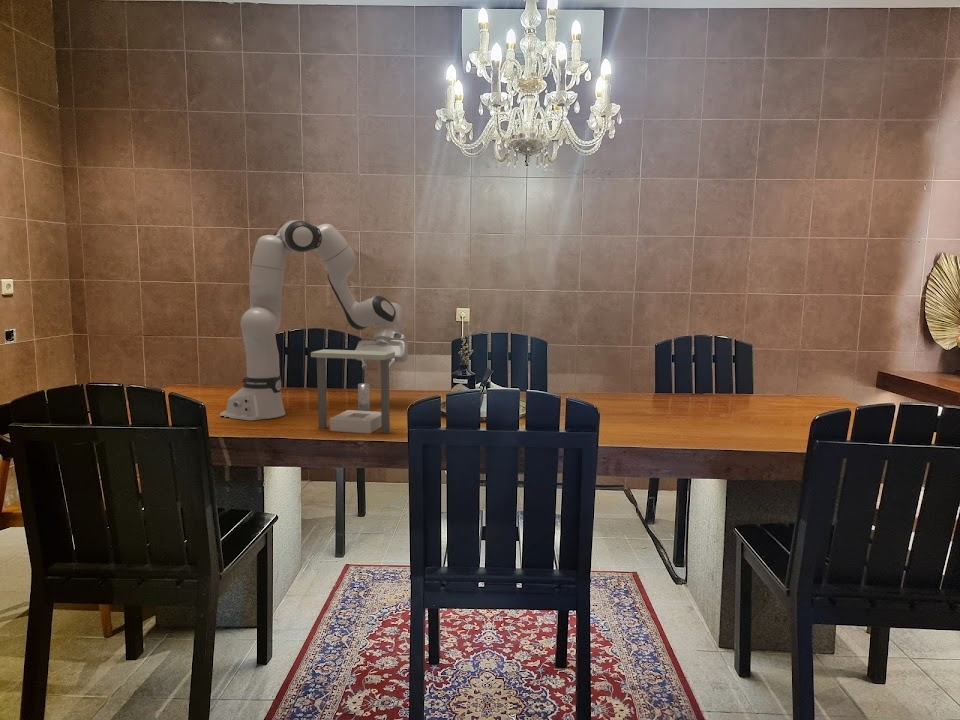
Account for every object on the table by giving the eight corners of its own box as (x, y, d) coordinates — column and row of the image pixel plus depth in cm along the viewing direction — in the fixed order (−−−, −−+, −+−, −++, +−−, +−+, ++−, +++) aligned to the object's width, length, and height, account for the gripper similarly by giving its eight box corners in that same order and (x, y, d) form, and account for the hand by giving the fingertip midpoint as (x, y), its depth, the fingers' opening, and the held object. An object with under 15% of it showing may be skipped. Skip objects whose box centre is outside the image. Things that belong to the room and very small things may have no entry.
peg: (356, 418, 226) (356, 384, 224) (361, 416, 230) (360, 383, 228) (367, 419, 225) (366, 385, 224) (371, 416, 229) (371, 383, 227)
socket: (329, 430, 208) (329, 418, 207) (348, 421, 221) (347, 409, 221) (370, 433, 205) (370, 421, 204) (386, 423, 218) (386, 412, 218)
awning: (312, 430, 208) (310, 352, 205) (325, 424, 217) (323, 349, 213) (385, 435, 203) (384, 355, 199) (395, 428, 211) (394, 351, 208)
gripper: (357, 333, 245) (347, 362, 236) (408, 335, 240) (399, 364, 232) (362, 344, 250) (352, 372, 241) (412, 345, 245) (403, 375, 237)
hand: (375, 368), depth 237 cm, fingers open, 8 cm apart
